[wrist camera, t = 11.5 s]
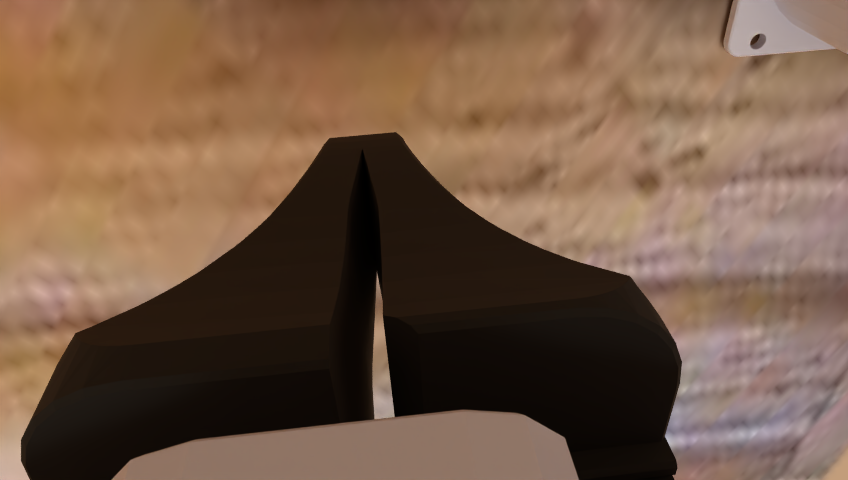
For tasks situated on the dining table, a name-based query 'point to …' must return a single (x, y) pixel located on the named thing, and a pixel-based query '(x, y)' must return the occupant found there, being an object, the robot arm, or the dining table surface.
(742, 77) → the dining table surface
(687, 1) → the dining table surface
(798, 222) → the dining table surface
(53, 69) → the dining table surface
